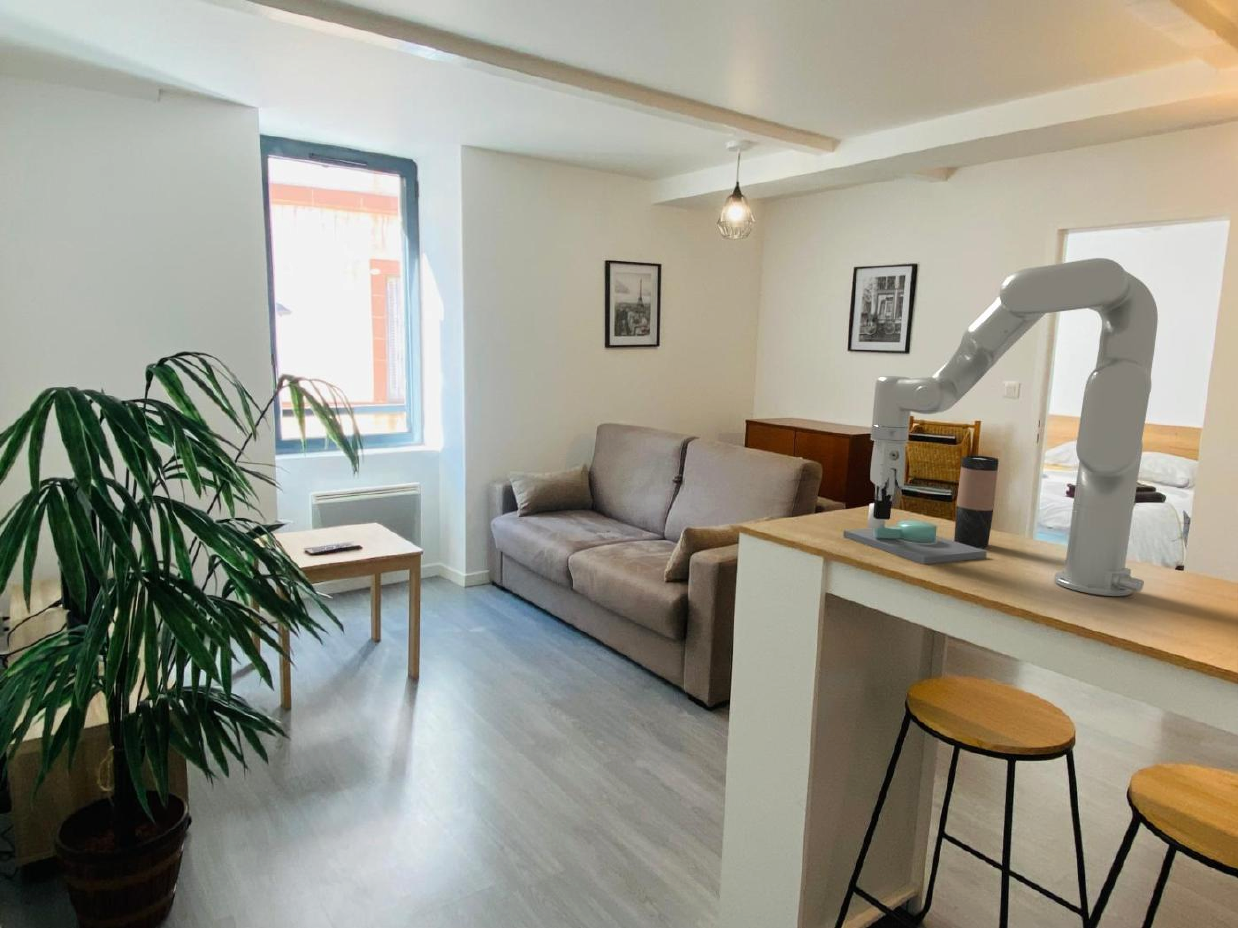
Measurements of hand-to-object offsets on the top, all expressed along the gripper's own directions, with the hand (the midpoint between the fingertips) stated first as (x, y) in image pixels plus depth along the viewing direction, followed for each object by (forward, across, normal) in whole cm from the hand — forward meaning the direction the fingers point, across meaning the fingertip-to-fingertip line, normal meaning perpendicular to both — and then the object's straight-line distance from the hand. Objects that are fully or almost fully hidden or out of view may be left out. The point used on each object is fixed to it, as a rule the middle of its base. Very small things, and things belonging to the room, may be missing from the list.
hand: (881, 518), depth 169 cm
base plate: (+7, +4, -8) cm, 11 cm away
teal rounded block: (+5, +4, -6) cm, 8 cm away
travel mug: (+7, +9, -23) cm, 26 cm away
